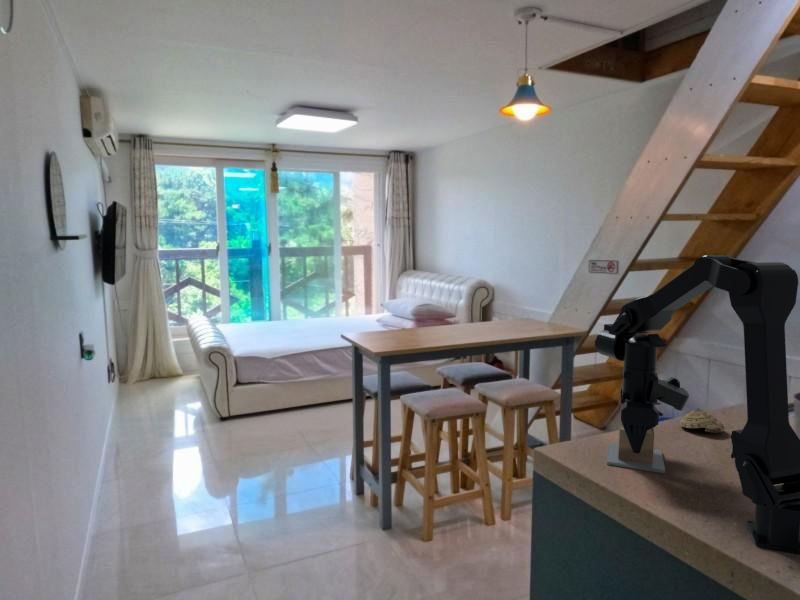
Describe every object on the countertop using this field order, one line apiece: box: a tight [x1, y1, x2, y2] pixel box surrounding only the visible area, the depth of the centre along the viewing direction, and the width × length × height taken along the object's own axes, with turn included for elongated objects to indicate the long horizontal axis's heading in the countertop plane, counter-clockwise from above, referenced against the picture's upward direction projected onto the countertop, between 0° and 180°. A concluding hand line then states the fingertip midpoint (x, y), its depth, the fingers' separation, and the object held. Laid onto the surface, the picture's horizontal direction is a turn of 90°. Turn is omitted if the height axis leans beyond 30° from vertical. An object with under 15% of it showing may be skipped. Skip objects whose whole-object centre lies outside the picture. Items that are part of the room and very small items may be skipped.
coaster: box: [606, 442, 666, 474], centre depth 103 cm, size 10×10×1 cm
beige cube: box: [618, 419, 655, 464], centre depth 102 cm, size 6×6×6 cm
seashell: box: [679, 408, 726, 434], centre depth 118 cm, size 8×6×8 cm
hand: (635, 444), depth 102 cm, fingers open, 9 cm apart
